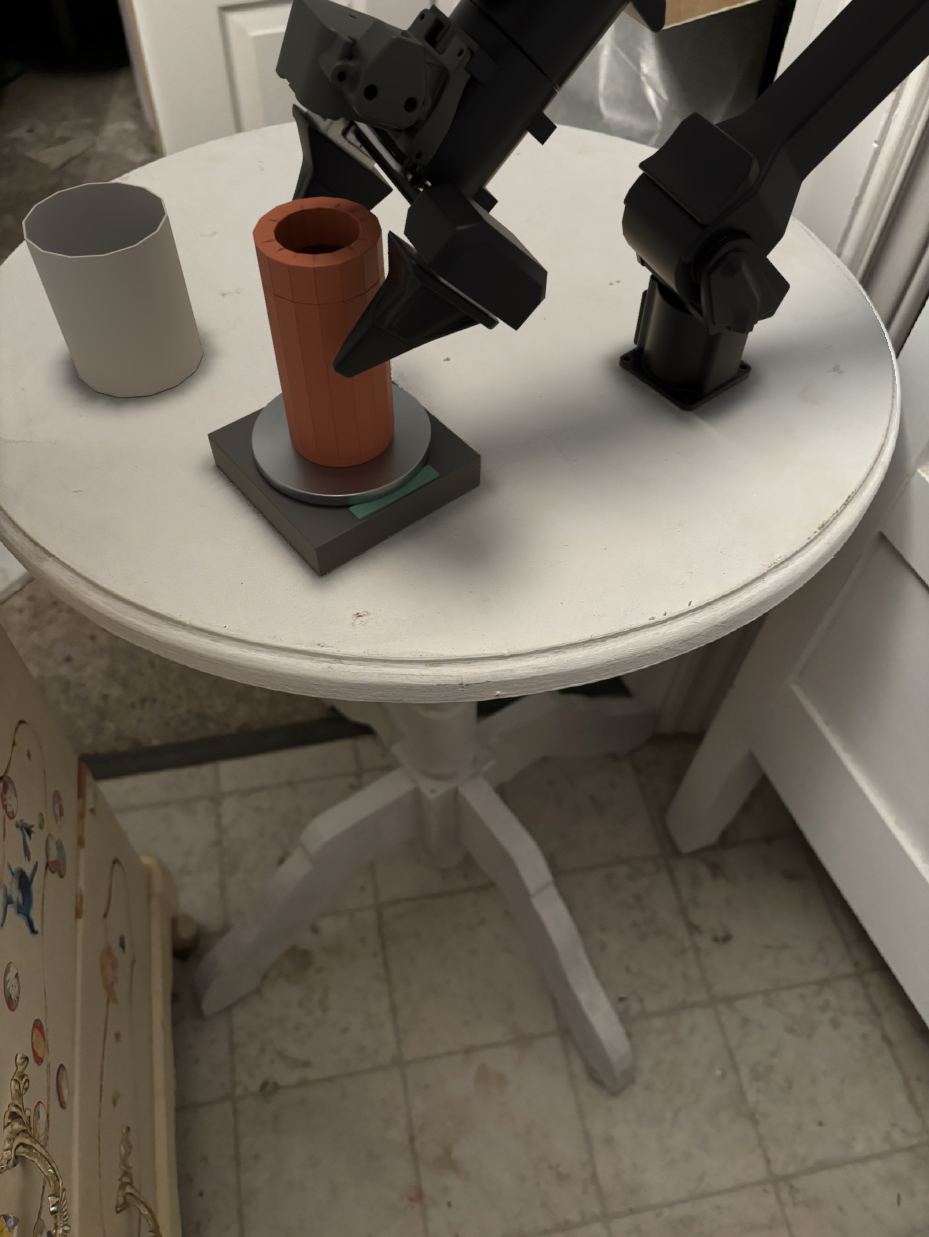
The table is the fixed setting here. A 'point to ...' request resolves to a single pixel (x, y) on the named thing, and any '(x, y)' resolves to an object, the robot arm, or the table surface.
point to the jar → (325, 325)
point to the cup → (115, 286)
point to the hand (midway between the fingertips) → (307, 320)
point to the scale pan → (342, 482)
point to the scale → (347, 528)
